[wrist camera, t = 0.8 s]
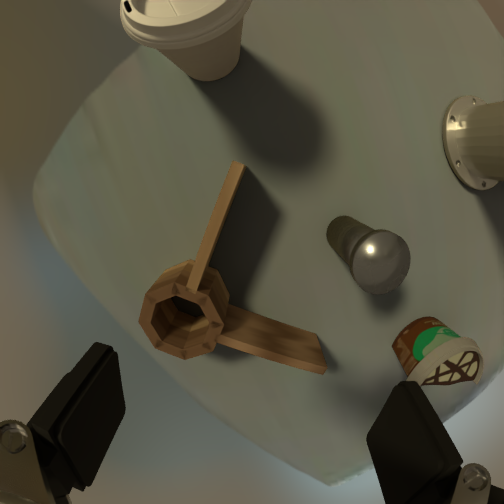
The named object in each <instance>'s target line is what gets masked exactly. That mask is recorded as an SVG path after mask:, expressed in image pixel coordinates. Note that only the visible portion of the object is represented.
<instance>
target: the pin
mask: <svg viewBox="0 0 504 504" xmlns="http://www.w3.org/2000/svg"><path fill="white" fill-rule="evenodd" d="M326 236H327V241H328V243H329V244H330V246H331V247H332V248H333V249H334V250H335V251H336V252H337V253H338V254H339V255H340V256H341V257H342V258H343V259H344V260H345V262H346V263H347V264H348V265H349V266H350V272H351V274H352V277H353V279H354V280H355V281H356V283H357V284H358V285H359V286H360V287H361V288H362V289H363V290H365V291H366V292H368V293H371V294H384V293H388V292H390V291H392V290H394V289H395V288H396V287H398V286H399V285H400V284H401V283H402V281H403V280H404V279H405V277H406V275H407V273H408V270H409V267H410V251H409V248H408V246H407V244H406V242H405V241H404V240H403V239H402V238H401V237H400V236H398V235H397V234H395V233H393V232H390V231H388V230H382V229H380V230H374V229H372V228H370V227H369V226H367V225H365V224H363V223H361V222H359V221H357V220H355V219H353V218H352V217H349V216H339V217H337V218H335V219H334V220H332V221H331V223H330V224H329V226H328V228H327V233H326Z"/></svg>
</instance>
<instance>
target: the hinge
mask: <svg viewBox="0 0 504 504" xmlns="http://www.w3.org/2000/svg"><path fill="white" fill-rule="evenodd" d="M246 167H247V166H245V165H243V164H241V163H238V162H235V161H232V164H231V166H230V169H229V171H228V174H227V176H226V179H225V181H224V184H223V187H222V189H221V192H220V194H219V197H218V200H217V202H216V205H215V207H214V210H213V213H212V215H211V218H210V221H209V224H208V226H207V229H206V232H205V234H204V237H203V240H202V243H201V245H200V248H199V251H198V254H197V257H196V260H195V261H193V260H191V259H190V260H187V261H185V262H183V263H180V264H178V265H176V266H173V267H171V268H169V269H166V270H165V271H164V272H163V274H162V275H161V276H160V277H159V278H158V279H157V281H156V282H155V283H154V284H153V285H152V287H151V288H150V289H149V290H148V291H147V293H146V294H145V297H144V301H143V305H142V309H141V313H140V317H139V324H140V325H141V327H142V328H143V330H144V332H145V333H146V335H147V337H148V338H149V340H150V341H151V343H152V344H153V346H154V347H155V348H156V349H158V350H161V351H163V352H166V353H168V354H171V355H173V356H176V357H179V358H181V359H184V360H186V359H189V358H193V357H196V356H199V355H202V354H206V353H209V352H212V351H213V350H214V348H215V345H216V343H220V344H223V345H226V346H228V347H231V348H234V349H237V350H240V351H243V352H246V353H249V354H252V355H256V356H259V357H262V358H265V359H268V360H272V361H275V362H278V363H282V364H285V365H289V366H292V367H296V368H299V369H303V370H307V371H310V372H314V373H318V374H322V375H323V374H324V373H325V371H326V370H327V365H326V362H325V359H324V356H323V353H322V350H321V347H320V344H319V341H318V338H317V336H316V334H315V333H311V332H308V331H305V330H302V329H299V328H296V327H293V326H290V325H287V324H284V323H281V322H278V321H275V320H272V319H269V318H267V317H264V316H261V315H258V314H255V313H252V312H250V311H247V310H244V309H241V308H238V307H236V306H233V305H230V304H228V302H229V297H230V294H229V292H228V290H227V288H226V286H225V284H224V282H223V280H222V278H221V276H220V274H219V272H218V270H217V269H214V268H211V267H209V266H208V265H209V262H210V260H211V257H212V254H213V252H214V249H215V246H216V244H217V241H218V238H219V236H220V233H221V230H222V228H223V225H224V223H225V220H226V217H227V215H228V212H229V210H230V207H231V205H232V202H233V199H234V197H235V194H236V192H237V189H238V187H239V184H240V182H241V179H242V177H243V174H244V172H245V169H246ZM173 296H179V297H181V298H184V299H186V300H189V301H191V302H194V303H197V304H199V305H200V307H201V309H202V311H203V313H204V314H203V315H200V316H197V317H194V316H191V315H188V314H186V313H183V312H181V311H178V310H177V308H176V306H175V305H174V303H173V301H172V299H171V297H173Z"/></svg>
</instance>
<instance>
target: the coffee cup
mask: <svg viewBox="0 0 504 504" xmlns="http://www.w3.org/2000/svg"><path fill="white" fill-rule="evenodd" d="M251 2H252V0H121V5H120V17H121V21H122V24H123V27H124V29H125V31H126V32H127V34H128V35H129V36H130V37H131V38H132V39H133V40H135V41H136V42H138V43H139V44H142V45H144V46H147V47H150V48H155V49H157V50H158V51H159V52H161V53H162V54H163V55H164V56H166V57H167V58H168V59H169V60H171V61H172V62H173V63H174V64H175V65H177V66H178V67H179V68H180V69H181V70H183V71H184V72H185V73H186V74H187V75H189V76H190V77H192V78H194V79H196V80H200V81H214V80H218V79H220V78H223V77H224V76H226V75H228V74H229V73H230V72H231V71H232V70H233V69H234V68H235V66H236V65H237V63H238V60H239V55H240V45H241V35H242V26H243V17H244V15H245V13H246V12H247V10H248V9H249V7H250V4H251Z"/></svg>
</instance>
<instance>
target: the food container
mask: <svg viewBox="0 0 504 504" xmlns="http://www.w3.org/2000/svg"><path fill="white" fill-rule="evenodd" d="M392 348H393V350H394V351H395V353H396V355H397V357H398V359H399V361H400V363H401V365H402V367H403V369H404V371H405V372H406V374H407V376H408V378H407V380H406V381H416V382H417V383H418V384H419V386H423V385H451V384H455V383H458V382H464V381H472V380H473V381H474V382H475V383H476V384H478V382H479V380H480V378H481V376H482V373H483V368H484V360H483V356H482V353H481V351H480V349H479V347H478V346H477V344H476V342H475V341H473V340H472V339H470V338H466V337H460V336H459V335H458V334H456V333H455V332H454V331H452V330H451V329H450V328H448V327H447V326H446V325H445V324H443V323H442V322H441V321H439V320H438V319H436V318H434V317H422V318H419V319H417V320H415V321H413V322H412V323H410V324H409V325H407V326H406V327H405V328H404V329H403V330H402V331H401V332H400V333H399V335H398V336H397V337H396V339H395V341H394V342H393V345H392Z"/></svg>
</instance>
